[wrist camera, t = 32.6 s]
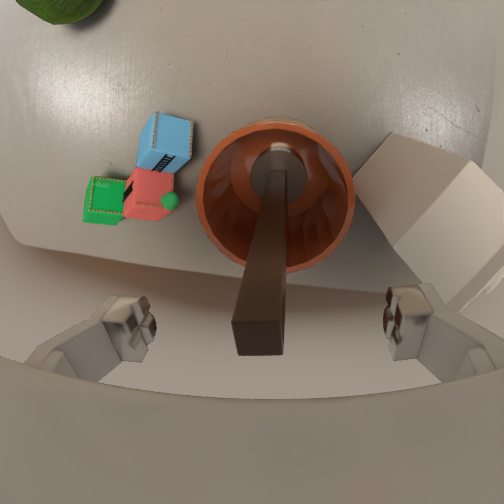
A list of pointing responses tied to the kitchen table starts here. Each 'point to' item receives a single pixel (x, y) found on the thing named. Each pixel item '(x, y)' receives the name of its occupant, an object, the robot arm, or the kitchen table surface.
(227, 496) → the robot arm
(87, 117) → the kitchen table surface
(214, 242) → the crock
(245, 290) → the ladle
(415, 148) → the milk carton
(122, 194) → the building blocks
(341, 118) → the kitchen table surface
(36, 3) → the avocado
